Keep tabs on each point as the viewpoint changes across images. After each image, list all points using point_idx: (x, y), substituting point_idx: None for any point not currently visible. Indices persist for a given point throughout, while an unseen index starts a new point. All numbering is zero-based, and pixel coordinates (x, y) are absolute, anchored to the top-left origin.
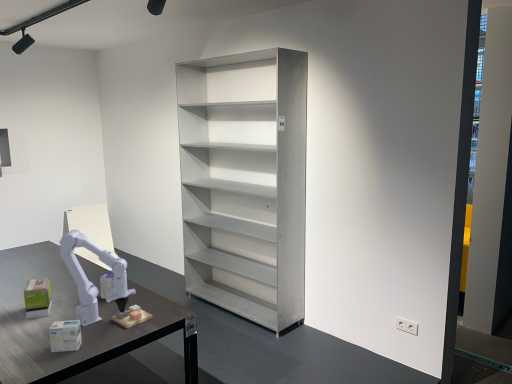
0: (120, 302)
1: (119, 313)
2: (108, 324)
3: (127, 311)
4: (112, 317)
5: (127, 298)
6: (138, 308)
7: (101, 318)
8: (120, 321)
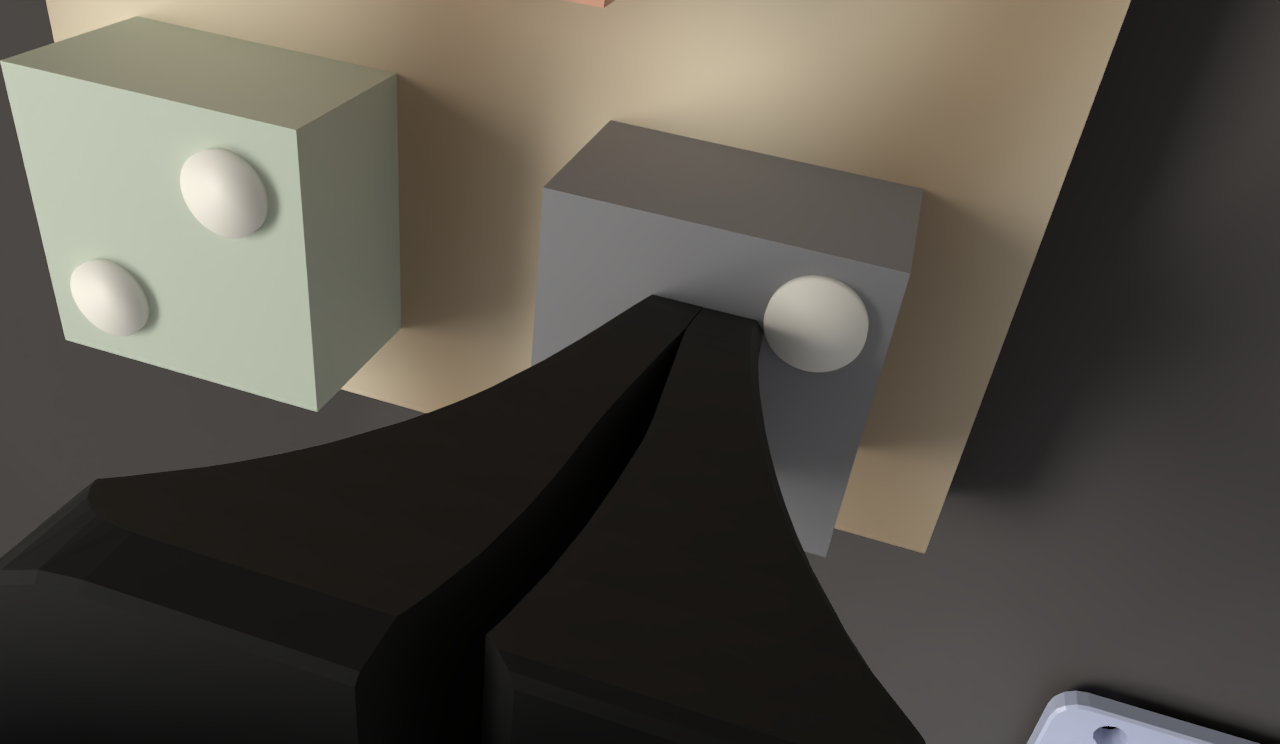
0: (854, 703)
1: (857, 366)
2: (1251, 382)
3: (543, 214)
4: (941, 506)
5: (99, 582)
6: (105, 72)
7: (1059, 726)
8: (1098, 41)
